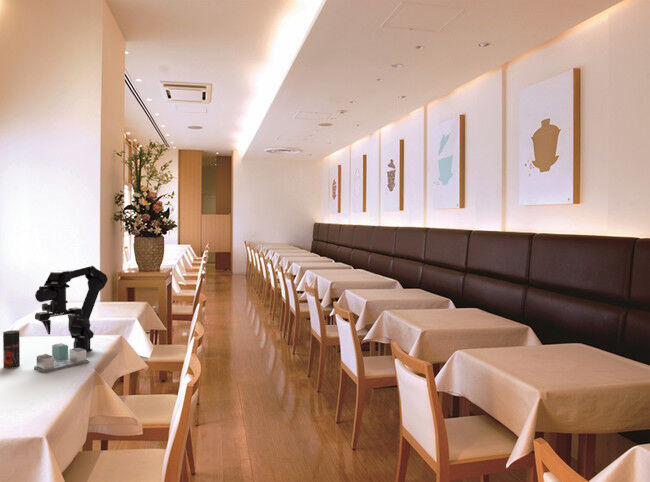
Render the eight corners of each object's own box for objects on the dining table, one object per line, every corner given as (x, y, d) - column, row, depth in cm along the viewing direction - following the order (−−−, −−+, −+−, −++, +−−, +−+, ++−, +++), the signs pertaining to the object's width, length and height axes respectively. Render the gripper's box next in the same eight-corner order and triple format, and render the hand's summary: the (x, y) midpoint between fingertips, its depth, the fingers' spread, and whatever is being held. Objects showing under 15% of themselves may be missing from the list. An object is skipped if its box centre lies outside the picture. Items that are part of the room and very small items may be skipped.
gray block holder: (78, 359, 227) (78, 346, 227) (88, 362, 222) (88, 349, 221) (34, 368, 211) (34, 355, 211) (44, 372, 206) (44, 358, 206)
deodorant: (23, 365, 216) (22, 331, 215) (10, 369, 210) (10, 333, 210) (12, 363, 218) (12, 329, 217) (0, 367, 212) (-1, 332, 212)
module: (61, 356, 231) (61, 342, 231) (68, 358, 227) (68, 345, 227) (52, 358, 228) (52, 344, 228) (59, 360, 224) (59, 346, 224)
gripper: (70, 294, 239) (71, 326, 239) (29, 299, 224) (29, 333, 224) (82, 296, 232) (83, 329, 233) (40, 302, 217) (41, 337, 218)
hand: (59, 332), depth 227 cm, fingers open, 9 cm apart
